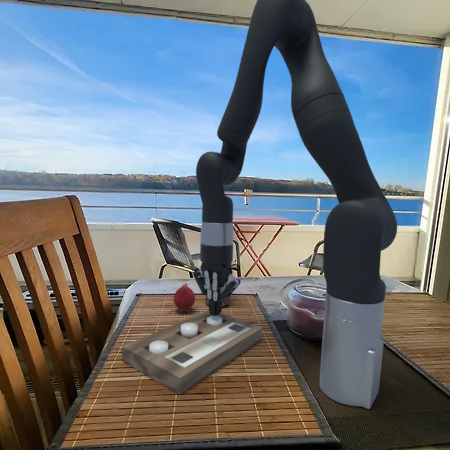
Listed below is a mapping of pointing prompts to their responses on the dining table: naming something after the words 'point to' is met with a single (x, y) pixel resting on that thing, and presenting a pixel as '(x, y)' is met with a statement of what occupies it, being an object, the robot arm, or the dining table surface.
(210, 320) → the button right
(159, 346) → the button left
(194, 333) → the button middle
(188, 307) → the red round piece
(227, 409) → the dining table surface
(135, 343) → the button board
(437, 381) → the dining table surface
